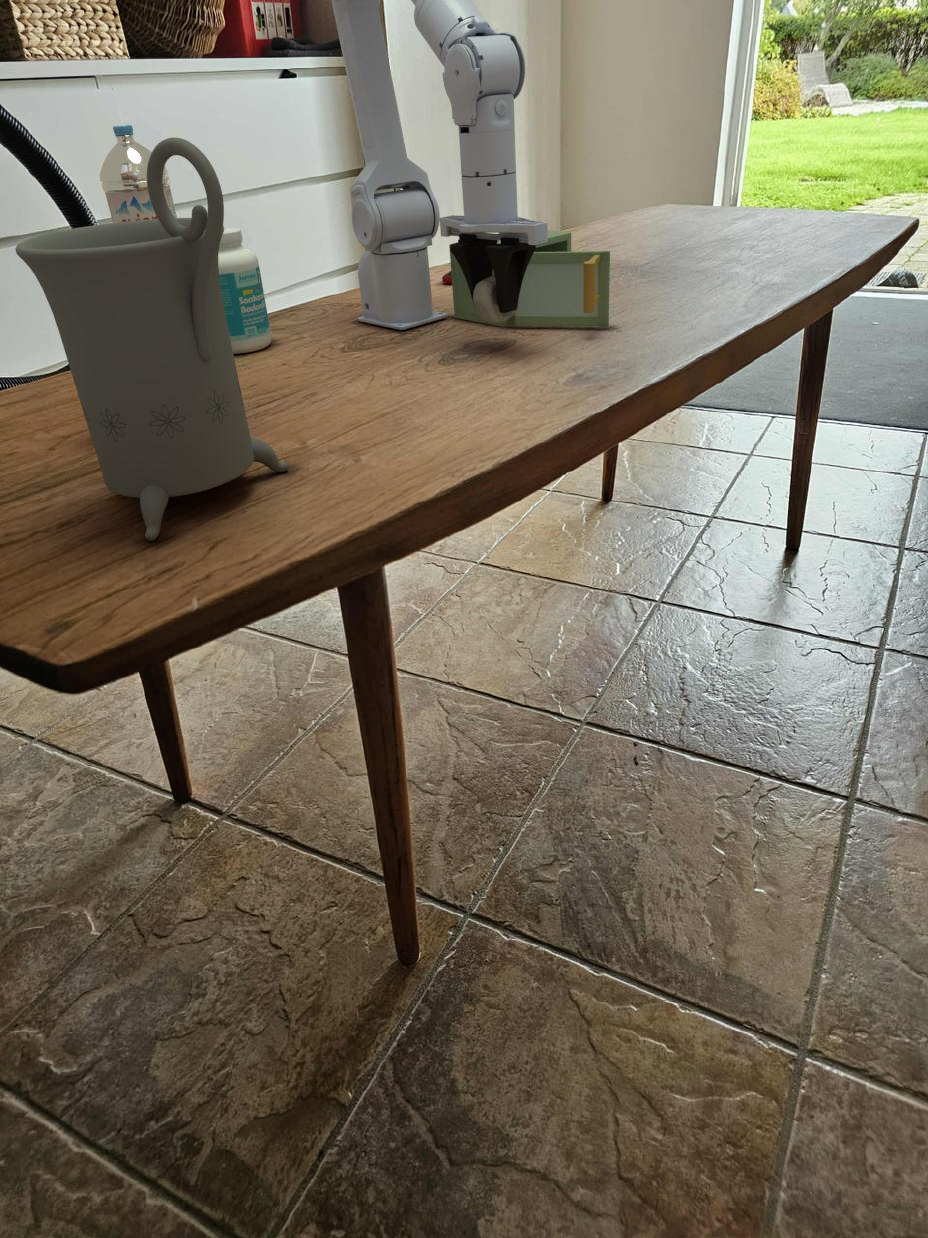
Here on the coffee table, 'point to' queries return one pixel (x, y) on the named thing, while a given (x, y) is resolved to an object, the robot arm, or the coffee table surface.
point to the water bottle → (130, 179)
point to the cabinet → (460, 287)
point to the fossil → (489, 301)
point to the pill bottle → (242, 294)
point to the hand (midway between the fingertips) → (495, 308)
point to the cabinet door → (565, 290)
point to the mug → (152, 344)
